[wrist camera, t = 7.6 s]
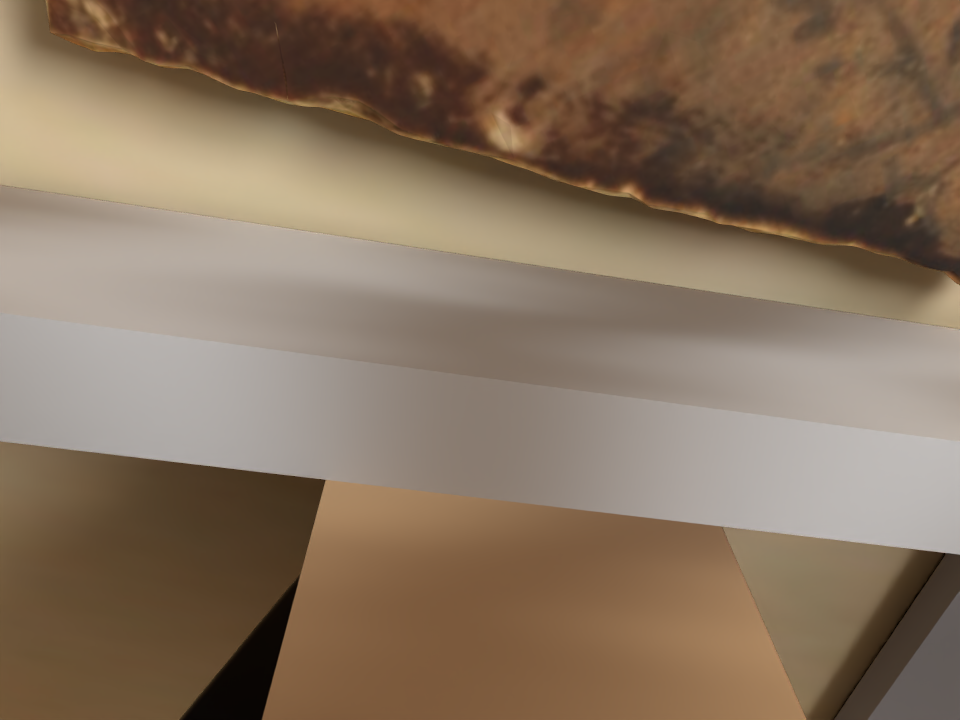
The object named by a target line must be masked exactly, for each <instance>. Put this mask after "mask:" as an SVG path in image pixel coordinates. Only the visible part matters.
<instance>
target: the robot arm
mask: <svg viewBox="0 0 960 720" xmlns="http://www.w3.org/2000/svg"><path fill="white" fill-rule="evenodd" d="M300 575H301V574H300ZM300 575H299V576H298V577H297V578H296V580H295V581H294V582H293V583H292V584H291V586H290V587H289V588H288V589H287V591H286V592H285V593H284V594H283V595H282V597H281V598H280V599H279V600H278V601H277V603H276V604H275V605H274V606H273V607H272V609H271V610H270V611H269V612H268V613H267V615H266V616H265V617H264V618H263V619H262V621H261V622H260V623H259V624H258V625H257V627H256V628H255V629H254V630H253V631H252V633H251V634H250V635H249V636H248V638H247V639H246V640H245V641H244V642H243V644H242V645H241V646H240V647H239V648H238V650H237V651H236V652H235V653H234V654H233V656H232V657H231V658H230V659H229V660H228V662H227V663H226V664H225V665H224V666H223V668H222V669H221V670H220V671H219V672H218V674H217V675H216V676H215V677H214V679H213V680H212V681H211V682H210V683H209V685H208V686H207V687H206V688H205V689H204V691H203V692H202V693H201V694H200V695H199V697H198V698H197V699H196V700H195V701H194V703H193V704H192V705H191V706H190V707H189V709H188V710H187V711H186V712H185V713H184V715H183V716H182V717H181V718H180V719H179V720H262V718H263V714H264V710H265V706H266V703H267V699H268V695H269V691H270V688H271V684H272V680H273V676H274V673H275V669H276V665H277V661H278V658H279V654H280V650H281V646H282V642H283V639H284V635H285V631H286V627H287V624H288V620H289V616H290V612H291V609H292V605H293V601H294V597H295V594H296V590H297V586H298V582H299V579H300Z"/></svg>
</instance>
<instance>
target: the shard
mask: <svg viewBox="0 0 960 720" xmlns="http://www.w3.org/2000/svg"><path fill="white" fill-rule="evenodd" d="M46 7H47V14H48V21H49V27H50V33H52V34H54V35H57V36H59V37H61V38H63V39H65V40H68V41H70V42H72V43H74V44H77V45H80V46H82V47H85V48H87V49H90V50H93V51H95V52H119V53H125V54H131V55H134V56H136V57H138V58H139V59H141V60H143V61H145V62H148V63H151V64H154V65H157V66H160V67H165V68H184V69H191V70H193V71H196V72H199V73H202V74H204V75H206V76H208V77H211V78H213V79H215V80H217V81H219V82H221V83H223V84H226V85H228V86H230V87H233V88H235V89H238V90H242V91H247V92H251V93H255V94H258V95H261V96H264V97H268V98H271V99H274V100H277V101H280V102H283V103H286V104H290V105H297V106H307V107H321V108H325V109H329V110H333V111H336V112H340V113H344V114H347V115H351V116H354V117H358V118H362V119H367V120H370V121H372V122H374V123H376V124H378V125H380V126H382V127H384V128H386V129H388V130H390V131H392V132H394V133H396V134H399V135H402V136H405V137H409V138H412V139H416V140H420V141H425V142H429V143H433V144H438V145H442V146H446V147H451V148H455V149H460V150H464V151H468V152H472V153H476V154H481V155H485V156H489V157H492V158H494V159H497V160H500V161H503V162H505V163H508V164H511V165H514V166H517V167H521V168H524V169H527V170H530V171H533V172H535V173H537V174H540V175H542V176H545V177H547V178H549V179H552V180H556V181H559V182H563V183H566V184H570V185H573V186H577V187H580V188H584V189H588V190H591V191H595V192H598V193H602V194H605V195H609V196H619V197H630V198H633V199H635V200H637V201H639V202H641V203H643V204H645V205H647V206H649V207H651V208H653V209H660V210H667V211H674V212H679V213H683V214H688V215H692V216H696V217H700V218H703V219H707V220H710V221H713V222H715V223H718V224H725V225H733V226H736V227H738V228H741V229H744V230H747V231H750V232H757V233H766V234H776V235H780V236H785V237H789V238H794V239H798V240H803V241H807V242H811V243H816V244H820V245H850V246H855V247H859V248H862V249H865V250H868V251H870V252H873V253H876V254H880V255H886V256H891V257H896V258H900V259H902V260H905V261H907V262H909V263H912V264H914V265H916V266H920V267H924V268H929V269H933V270H937V271H941V272H944V273H945V274H946V275H948V276H949V277H950V278H951V279H952V280H953V281H954V282H956V283H957V284H959V285H960V0H46Z"/></svg>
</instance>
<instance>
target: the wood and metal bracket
mask: <svg viewBox="0 0 960 720" xmlns="http://www.w3.org/2000/svg"><path fill="white" fill-rule="evenodd" d="M0 441H2V442H10V443H18V444H27V445H35V446H44V447H52V448H61V449H69V450H78V451H86V452H95V453H103V454H112V455H120V456H129V457H137V458H146V459H154V460H163V461H171V462H180V463H188V464H196V465H205V466H213V467H222V468H230V469H239V470H247V471H256V472H264V473H273V474H281V475H290V476H298V477H307V478H315V479H324V480H326V481H325V485H324V488H323V492H322V496H321V500H320V503H319V507H318V511H317V515H316V518H315V522H314V526H313V530H312V533H311V537H310V541H309V545H308V549H307V552H306V556H305V560H304V564H303V567H302V571H301V575H300V579H299V582H298V586H297V590H296V594H295V597H294V601H293V605H292V609H291V612H290V616H289V620H288V624H287V627H286V631H285V635H284V639H283V642H282V646H281V650H280V654H279V658H278V661H277V665H276V669H275V673H274V676H273V680H272V684H271V688H270V691H269V695H268V699H267V703H266V706H265V710H264V714H263V718H262V720H806V717H805V715H804V713H803V710H802V708H801V706H800V704H799V701H798V699H797V697H796V695H795V692H794V690H793V688H792V685H791V683H790V681H789V679H788V676H787V674H786V672H785V669H784V667H783V665H782V663H781V660H780V658H779V656H778V654H777V651H776V649H775V647H774V644H773V642H772V640H771V638H770V635H769V633H768V631H767V628H766V626H765V624H764V622H763V619H762V617H761V615H760V613H759V610H758V608H757V606H756V603H755V601H754V599H753V597H752V594H751V592H750V590H749V587H748V585H747V583H746V581H745V578H744V576H743V574H742V572H741V569H740V567H739V565H738V562H737V560H736V558H735V556H734V553H733V551H732V549H731V547H730V544H729V542H728V540H727V537H726V535H725V533H724V531H723V528H722V527H731V528H739V529H748V530H756V531H764V532H773V533H781V534H790V535H798V536H807V537H815V538H824V539H832V540H841V541H849V542H858V543H866V544H875V545H883V546H892V547H900V548H909V549H917V550H926V551H934V552H943V553H951V554H959V555H960V329H954V328H948V327H941V326H934V325H928V324H921V323H914V322H908V321H901V320H894V319H888V318H881V317H874V316H868V315H861V314H854V313H848V312H841V311H834V310H828V309H821V308H815V307H808V306H801V305H795V304H788V303H781V302H775V301H768V300H761V299H755V298H748V297H741V296H735V295H728V294H721V293H715V292H708V291H702V290H695V289H688V288H682V287H675V286H668V285H662V284H655V283H648V282H642V281H635V280H628V279H622V278H615V277H608V276H602V275H595V274H588V273H582V272H575V271H569V270H562V269H555V268H549V267H542V266H535V265H529V264H522V263H515V262H509V261H502V260H495V259H489V258H482V257H475V256H469V255H462V254H456V253H449V252H442V251H436V250H429V249H422V248H416V247H409V246H402V245H396V244H389V243H382V242H376V241H369V240H362V239H356V238H349V237H342V236H336V235H329V234H323V233H316V232H309V231H303V230H296V229H289V228H283V227H276V226H269V225H263V224H256V223H249V222H243V221H236V220H229V219H223V218H216V217H210V216H203V215H196V214H190V213H183V212H176V211H170V210H163V209H156V208H150V207H143V206H136V205H130V204H123V203H116V202H110V201H103V200H97V199H90V198H83V197H77V196H70V195H63V194H57V193H50V192H43V191H37V190H30V189H23V188H17V187H10V186H3V185H0Z"/></svg>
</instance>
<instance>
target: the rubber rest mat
mask: <svg viewBox="0 0 960 720" xmlns="http://www.w3.org/2000/svg"><path fill="white" fill-rule="evenodd" d="M834 720H960V555H959V554H951V553H946V555H945V556H944V558H943V559H942V561H941V562H940V564H939V565H938V567H937V568H936V570H935V571H934V572H933V574H932V575H931V577H930V578H929V580H928V581H927V583H926V584H925V586H924V587H923V589H922V590H921V592H920V593H919V595H918V596H917V598H916V599H915V601H914V602H913V604H912V605H911V607H910V608H909V609H908V611H907V612H906V614H905V615H904V617H903V618H902V620H901V621H900V623H899V624H898V626H897V627H896V629H895V630H894V632H893V633H892V635H891V636H890V638H889V639H888V641H887V642H886V644H885V645H884V646H883V648H882V649H881V651H880V652H879V654H878V655H877V657H876V658H875V660H874V661H873V663H872V664H871V666H870V667H869V669H868V670H867V672H866V673H865V675H864V676H863V678H862V679H861V681H860V682H859V684H858V685H857V686H856V688H855V689H854V691H853V692H852V694H851V695H850V697H849V698H848V700H847V701H846V703H845V704H844V706H843V707H842V709H841V710H840V712H839V713H838V715H837V716H836V718H835V719H834Z"/></svg>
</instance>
